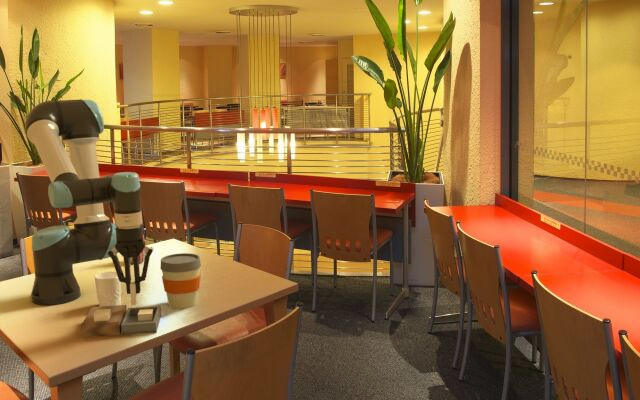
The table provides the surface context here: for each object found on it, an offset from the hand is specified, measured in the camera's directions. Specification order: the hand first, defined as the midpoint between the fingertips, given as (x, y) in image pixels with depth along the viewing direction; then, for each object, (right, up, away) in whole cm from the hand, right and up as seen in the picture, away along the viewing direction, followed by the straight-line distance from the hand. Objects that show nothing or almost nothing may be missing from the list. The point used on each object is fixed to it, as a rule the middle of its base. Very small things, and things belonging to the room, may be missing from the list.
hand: (134, 303), depth 195 cm
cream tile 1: (+3, -2, +1) cm, 4 cm away
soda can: (-17, +6, +64) cm, 67 cm away
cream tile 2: (-7, -3, -8) cm, 11 cm away
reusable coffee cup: (+11, -3, +15) cm, 19 cm away
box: (+3, -6, -2) cm, 7 cm away
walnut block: (-7, -6, -4) cm, 10 cm away
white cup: (-12, -3, +15) cm, 20 cm away
